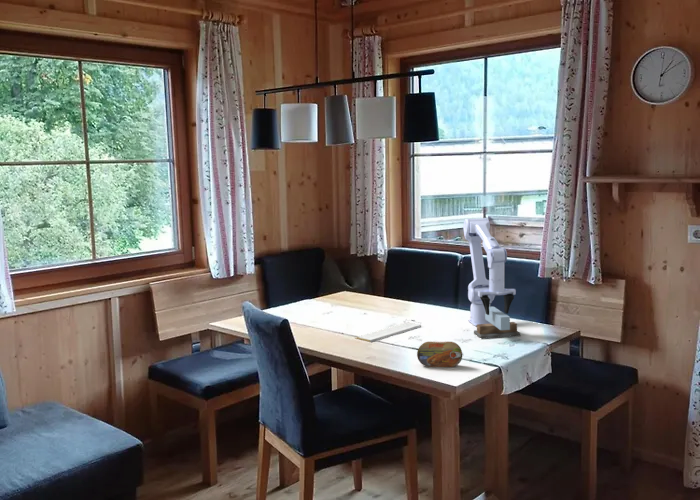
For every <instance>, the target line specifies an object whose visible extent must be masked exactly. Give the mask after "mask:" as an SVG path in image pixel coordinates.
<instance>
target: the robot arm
mask: <svg viewBox="0 0 700 500" xmlns="http://www.w3.org/2000/svg"><path fill="white" fill-rule="evenodd" d="M462 229H463V235H464V240H466V241H468V244H469V251H470V258H471V266H472V267H471V268H472V274H473V280H472V281H471V282H470V283H469V284H468V286H467V290H468V291H467V298H468V300H469V301H470V303H471V304H470V310H469V311H470V319H468V322H469V323H470V324H472V325H473V326H474V327H477V324H491V323H490V322H488V321H487V320H485V312H486V314H487V315H489V307H491V304H492V303H493V301H494V299H495V297H496V296H503V301H504V303H503V304H504V306H503V307H504V308H503V309H504V310H503V311H504V312H503V313H505V314H506V315H508V314H509V311H510V306H511V305H512V303H513V300H514V298H515V295H516V292H517V290H516V288H505V263H506V262H507V259H508V252H507V249H506V248H505V247H503V246H500V244H499V242H498V241H497V239H496V238H495V236H492V234H491V232H490V229H491V223H490V220H489V218H488V217H482V218H481V217H480V218H479V217H478V218H465V219H464V221H463V228H462ZM482 248H483V249H484V251H485V253H486V260H487V268H488V270H489V271H488V272H489V273H488V274H489V275H488V276H489V277H488V278H489V279H487V277H486V270H485V264H484V255H483V249H482Z"/></svg>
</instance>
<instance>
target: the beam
mask: <svg viewBox="0 0 700 500" xmlns="http://www.w3.org/2000/svg"><path fill="white" fill-rule="evenodd" d="M485 320H487V321H488V322H490V323H491V324H493V325H494V326H495V327H497V328H498V329H500V330H510V322H511V317H510V316H509V315H508V314H506V313H505V312H503V311H502V310H500V309H498V308H497V307H495V306H490V307H489V315H487V314H486V312H485Z"/></svg>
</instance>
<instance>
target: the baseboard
mask: <svg viewBox="0 0 700 500" xmlns="http://www.w3.org/2000/svg"><path fill="white" fill-rule="evenodd" d="M409 321H410V322H409ZM419 323H420V322H417V323H416V322H415V320H414V319H411V320H410V319H409V320H407V322H406V321H405V320H403V323H400V324H396V325H393V326H390V327H386V328H383V329H379V330H375V331H371V332H369V333H365V334H362V335H359V336H356V337H354V339H356V340H358V341H359V340H360V341H363V342H368V343H373V342H375V341H380V340H382V339H386V338H388V337H392V336H395V335H399V334H401V333H405V332H408V331H412V330H416V329H418V328H422V325H421V323H420V324H419Z"/></svg>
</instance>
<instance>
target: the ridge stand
mask: <svg viewBox="0 0 700 500" xmlns="http://www.w3.org/2000/svg"><path fill="white" fill-rule="evenodd" d="M473 334H474V335H475V336H476V335H477V336H476V337H478V338H479V339H480V338H485V339H498V337H499V338H510V337H521V334H522V333H521V332H520V331H519V330H518V324H517V323H516V322H515V321H510V330H500V329H498V328H497V327H495V326H494V325H493V324H477V326H476V330H473Z"/></svg>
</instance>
